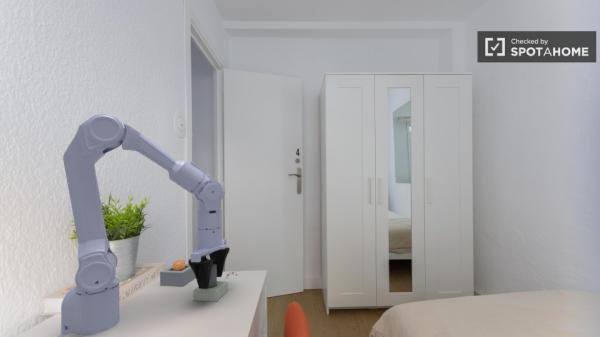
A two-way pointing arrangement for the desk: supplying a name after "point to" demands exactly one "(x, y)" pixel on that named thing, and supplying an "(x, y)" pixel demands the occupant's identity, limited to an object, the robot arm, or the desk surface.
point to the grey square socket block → (176, 276)
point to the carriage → (211, 288)
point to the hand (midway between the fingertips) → (210, 282)
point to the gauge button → (179, 265)
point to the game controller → (230, 274)
